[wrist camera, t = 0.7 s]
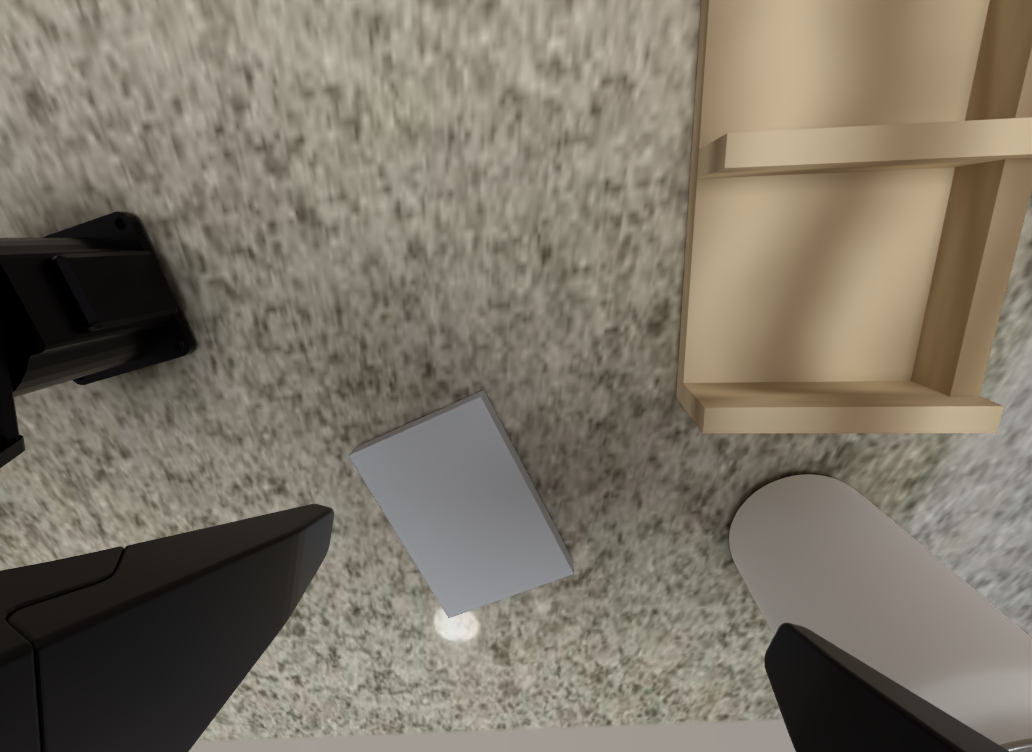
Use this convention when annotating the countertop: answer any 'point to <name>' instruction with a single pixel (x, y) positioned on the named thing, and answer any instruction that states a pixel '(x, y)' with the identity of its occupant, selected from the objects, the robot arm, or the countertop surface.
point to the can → (884, 602)
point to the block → (464, 506)
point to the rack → (853, 212)
